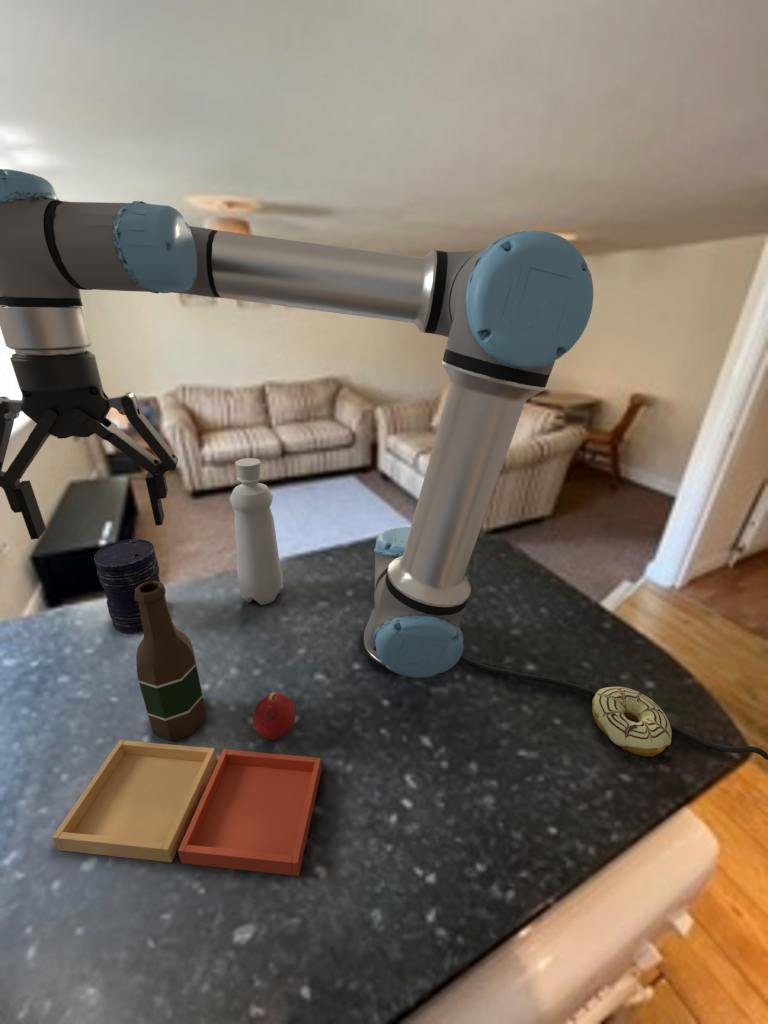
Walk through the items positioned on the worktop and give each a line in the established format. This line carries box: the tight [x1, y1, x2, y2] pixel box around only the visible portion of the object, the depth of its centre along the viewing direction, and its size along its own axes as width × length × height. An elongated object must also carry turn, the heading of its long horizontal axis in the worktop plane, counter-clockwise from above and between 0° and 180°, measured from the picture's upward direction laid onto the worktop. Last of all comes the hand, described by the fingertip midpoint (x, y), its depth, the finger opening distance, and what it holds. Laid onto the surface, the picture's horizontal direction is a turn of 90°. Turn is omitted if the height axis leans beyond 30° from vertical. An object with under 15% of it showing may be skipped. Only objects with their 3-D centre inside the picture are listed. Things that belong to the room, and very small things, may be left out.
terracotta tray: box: [177, 748, 323, 877], centre depth 55 cm, size 13×12×2 cm
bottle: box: [229, 457, 284, 606], centre depth 89 cm, size 9×9×30 cm
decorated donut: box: [591, 686, 673, 758], centre depth 67 cm, size 10×11×4 cm
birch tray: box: [51, 739, 218, 863], centre depth 56 cm, size 13×12×2 cm
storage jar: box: [93, 538, 167, 635], centre depth 84 cm, size 10×10×18 cm
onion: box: [252, 691, 296, 741], centre depth 64 cm, size 6×6×8 cm
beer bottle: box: [135, 581, 207, 742], centre depth 62 cm, size 8×8×24 cm
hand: (101, 527), depth 57 cm, fingers open, 13 cm apart
